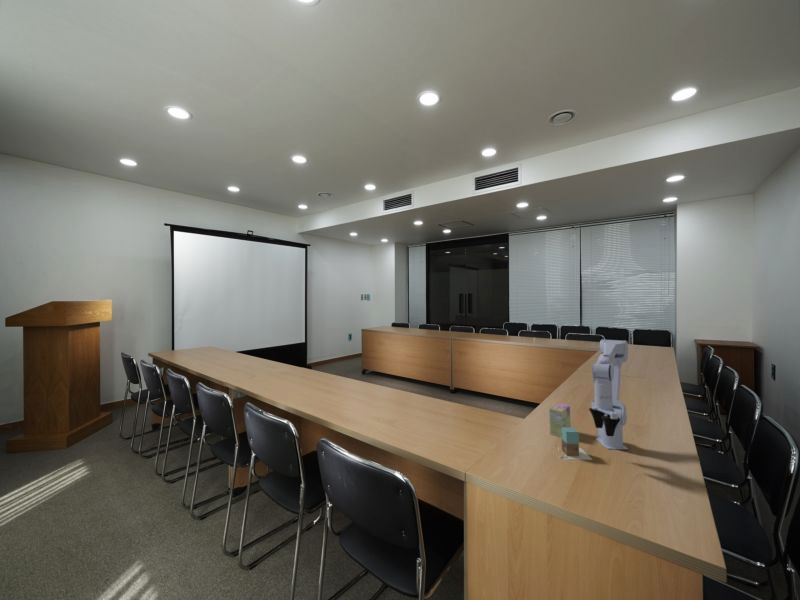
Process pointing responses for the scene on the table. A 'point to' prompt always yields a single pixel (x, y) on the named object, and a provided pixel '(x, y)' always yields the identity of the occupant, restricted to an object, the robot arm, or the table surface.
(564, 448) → the brick walnut
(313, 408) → the table surface
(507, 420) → the table surface
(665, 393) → the table surface
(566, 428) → the brick teal
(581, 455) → the baseplate
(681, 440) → the table surface
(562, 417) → the box
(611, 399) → the robot arm
